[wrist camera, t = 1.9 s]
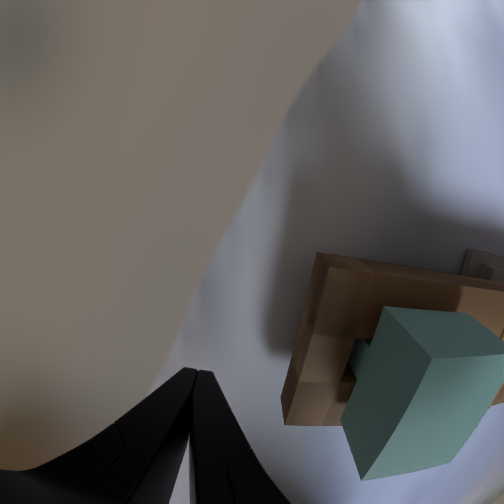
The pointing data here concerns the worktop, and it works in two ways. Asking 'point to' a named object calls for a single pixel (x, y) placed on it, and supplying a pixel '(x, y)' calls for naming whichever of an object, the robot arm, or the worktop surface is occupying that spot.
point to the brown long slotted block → (374, 322)
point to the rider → (419, 389)
